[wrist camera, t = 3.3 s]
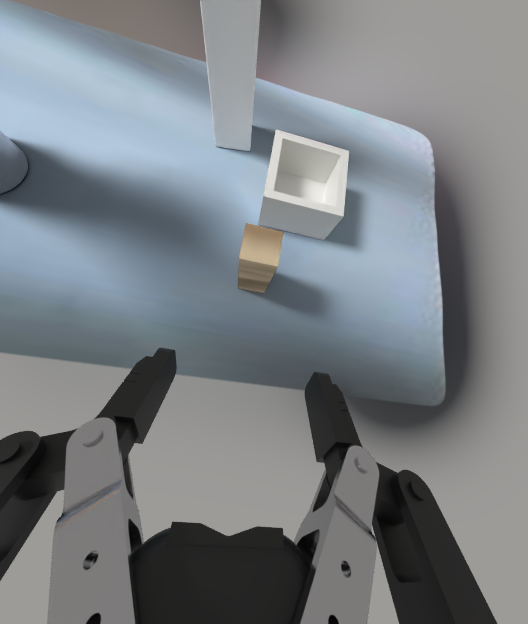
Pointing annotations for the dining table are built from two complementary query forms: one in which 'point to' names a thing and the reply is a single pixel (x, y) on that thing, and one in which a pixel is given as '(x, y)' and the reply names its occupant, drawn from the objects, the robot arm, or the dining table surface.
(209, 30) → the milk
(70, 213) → the dining table surface
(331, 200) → the white well
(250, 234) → the beech post
